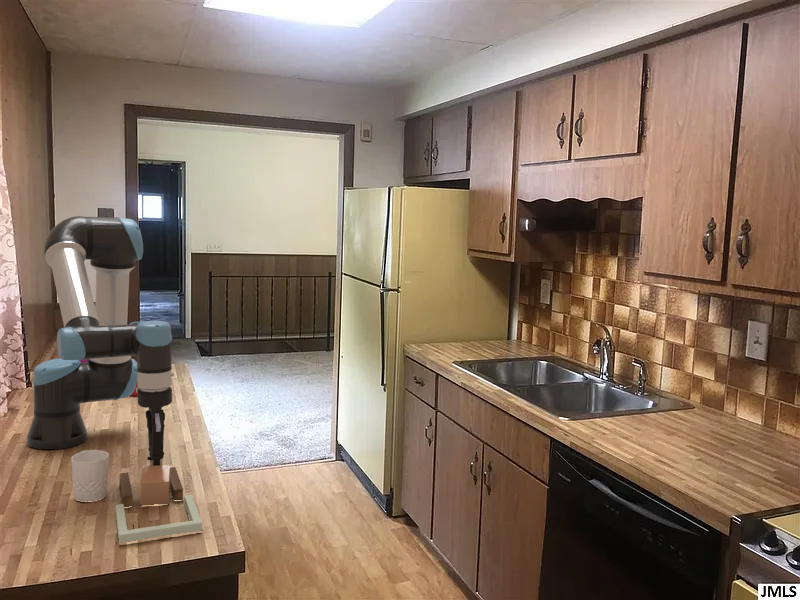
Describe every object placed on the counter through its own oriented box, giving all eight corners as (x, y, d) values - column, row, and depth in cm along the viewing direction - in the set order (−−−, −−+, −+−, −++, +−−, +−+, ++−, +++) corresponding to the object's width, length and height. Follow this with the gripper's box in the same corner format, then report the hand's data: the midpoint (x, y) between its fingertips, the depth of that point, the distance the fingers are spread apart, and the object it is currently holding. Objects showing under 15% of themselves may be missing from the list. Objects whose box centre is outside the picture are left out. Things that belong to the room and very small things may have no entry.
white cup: (114, 490, 157) (114, 450, 156) (100, 505, 149) (100, 463, 148) (81, 489, 157) (80, 449, 155) (65, 503, 149) (64, 461, 148)
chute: (122, 509, 148) (122, 496, 147) (119, 485, 160) (119, 473, 160) (182, 501, 154) (183, 488, 153) (175, 478, 166) (175, 466, 166)
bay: (119, 546, 132) (119, 535, 132) (115, 515, 145) (115, 504, 145) (201, 533, 139) (202, 522, 139) (191, 504, 152) (191, 494, 152)
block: (141, 507, 149) (140, 483, 147) (143, 490, 155) (142, 466, 152) (168, 505, 151) (168, 481, 148) (170, 488, 156) (169, 464, 154)
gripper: (175, 393, 149) (176, 492, 152) (168, 379, 160) (169, 472, 163) (140, 396, 145) (142, 497, 148) (135, 382, 156) (137, 476, 160)
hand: (156, 484), depth 156 cm, fingers closed
